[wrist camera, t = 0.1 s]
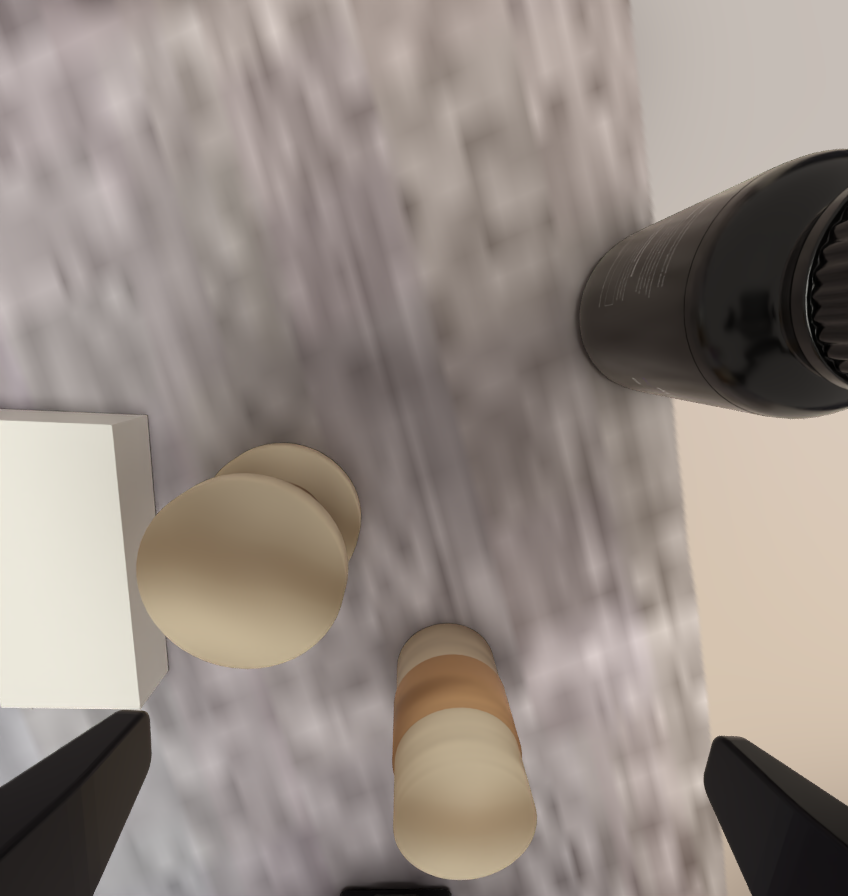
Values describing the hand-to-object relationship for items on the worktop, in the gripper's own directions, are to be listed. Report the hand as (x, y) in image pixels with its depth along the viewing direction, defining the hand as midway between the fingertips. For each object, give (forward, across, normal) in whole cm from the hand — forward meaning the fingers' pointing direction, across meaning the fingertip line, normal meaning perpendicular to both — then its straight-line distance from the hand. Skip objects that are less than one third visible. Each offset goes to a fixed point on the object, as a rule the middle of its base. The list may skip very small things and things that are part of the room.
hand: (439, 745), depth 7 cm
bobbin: (+14, +6, +2) cm, 16 cm away
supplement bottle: (+15, -10, -8) cm, 19 cm away
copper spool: (+15, -2, +10) cm, 18 cm away
